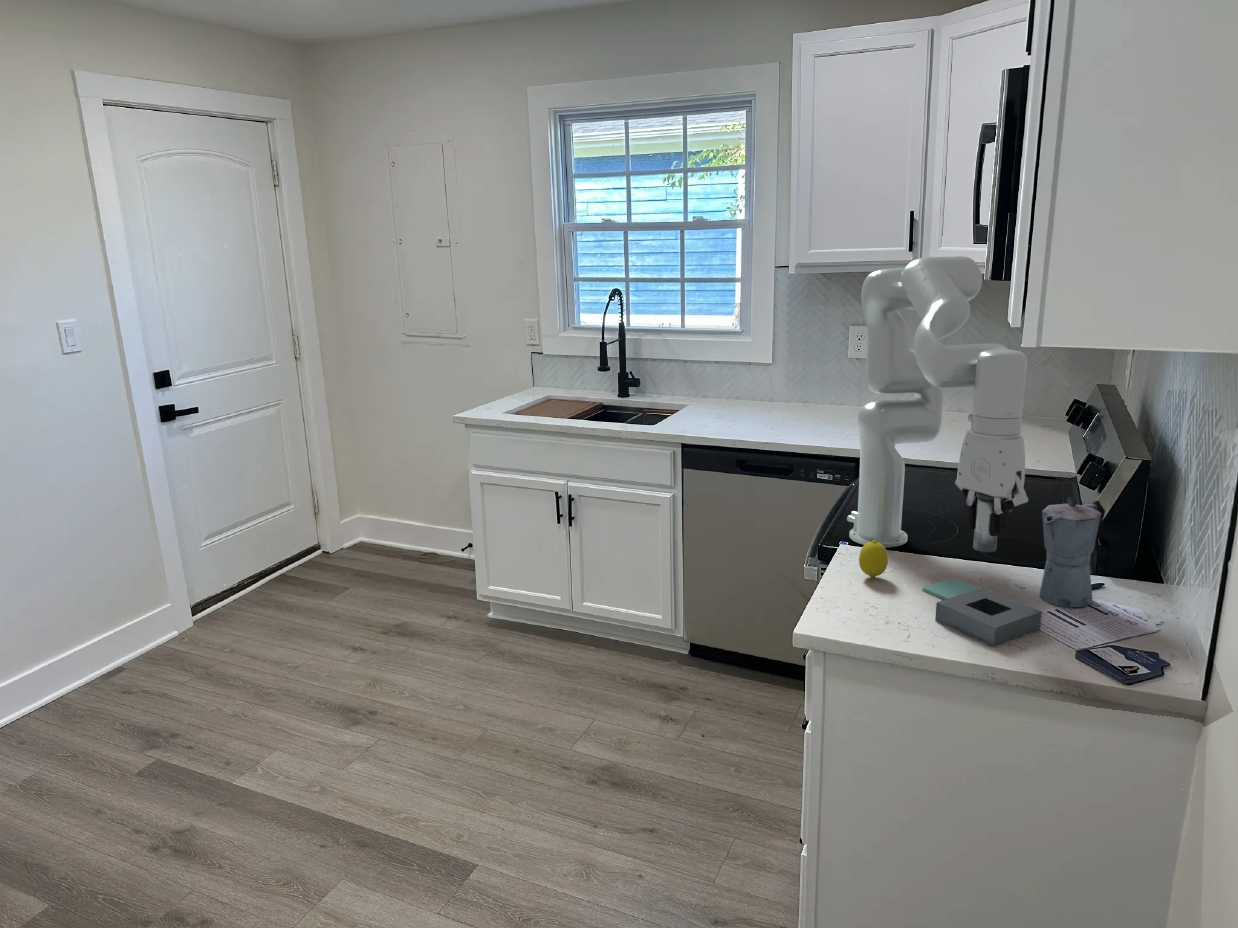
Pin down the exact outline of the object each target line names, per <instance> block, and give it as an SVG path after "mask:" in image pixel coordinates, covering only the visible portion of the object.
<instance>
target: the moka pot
mask: <svg viewBox="0 0 1238 928" xmlns="http://www.w3.org/2000/svg"><path fill="white" fill-rule="evenodd" d="M1066 499H1067V503H1061V504H1058V503H1057V504H1048V505H1047V506H1046V507H1045V508H1044V509H1043V510H1041V515H1042V529H1043V539H1044V540H1043V543H1044V549H1045V550H1046V561H1045V564H1044V570H1043V576H1042V580H1041V585H1040V589H1039V597H1040V598H1041V599H1042V601H1044V602H1046V603H1048V604H1051V605H1054V606H1057V607H1062V608H1069V607H1078V608H1084V607H1086V606H1088V605H1091V604H1092V603H1093V592H1092V578H1091V567H1090V566H1091V565H1090V562H1091V554H1092V553H1093V552H1094V549H1095V548H1096V544H1097V540H1098V538H1099V537H1098V536H1099V533H1100V530H1101V527H1102V523H1103V520H1104V517H1105V513H1106V510H1105V508H1104V507H1103V505H1102V504H1101V502H1100V500H1095V501H1093V502H1092V503H1091V502H1089V503H1088V502H1087V503H1084V504H1083V505H1082V504H1077V500H1078V498H1077V497H1076V496H1069V497H1066Z"/></svg>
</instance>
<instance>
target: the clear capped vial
mask: <svg viewBox="0 0 1238 928" xmlns="http://www.w3.org/2000/svg"><path fill="white" fill-rule="evenodd" d="M976 498H977V509H976V520H975V529H974V534H973V545H972V548H973V549H974V550H975V551H979V552H983V553H992V552H996V551H997V544H998V536H994V537H993V536H990V534H989V532H990V521H991V514H992V513H995V508H994V497H992V496H988V495H985V494H981V493H978V492H977V494H976Z"/></svg>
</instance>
